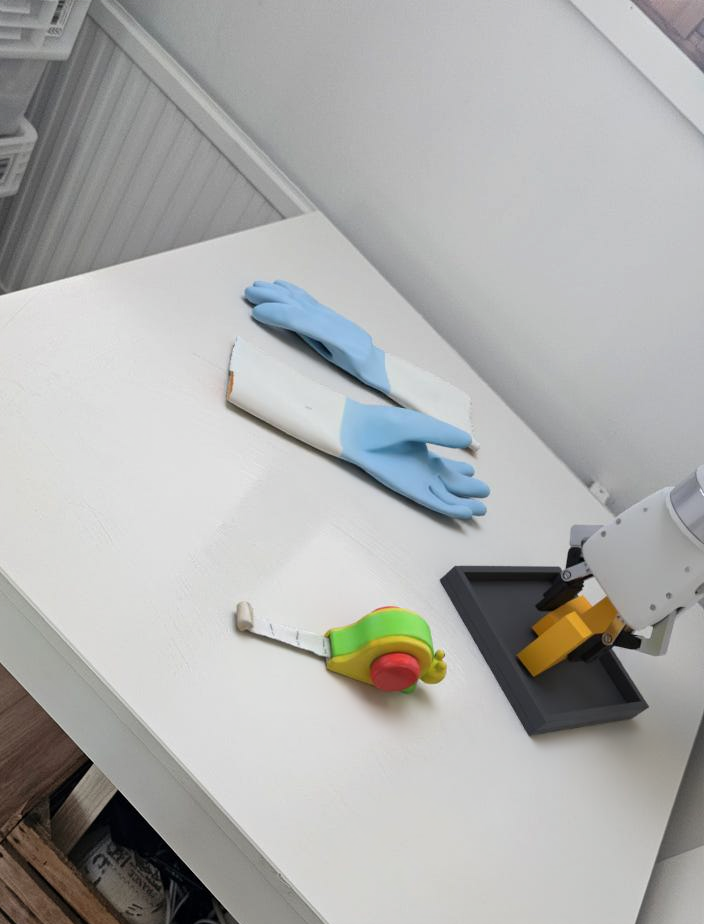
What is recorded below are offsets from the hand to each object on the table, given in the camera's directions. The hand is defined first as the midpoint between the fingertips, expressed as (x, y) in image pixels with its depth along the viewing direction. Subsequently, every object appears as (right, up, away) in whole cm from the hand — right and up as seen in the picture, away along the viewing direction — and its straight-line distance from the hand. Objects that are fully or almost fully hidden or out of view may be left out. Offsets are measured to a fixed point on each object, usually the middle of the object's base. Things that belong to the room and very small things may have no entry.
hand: (561, 632), depth 101 cm
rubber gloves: (-18, +25, +13) cm, 34 cm away
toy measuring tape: (-24, -2, -15) cm, 28 cm away
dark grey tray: (-2, -2, +2) cm, 3 cm away
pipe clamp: (-1, -1, +1) cm, 2 cm away
